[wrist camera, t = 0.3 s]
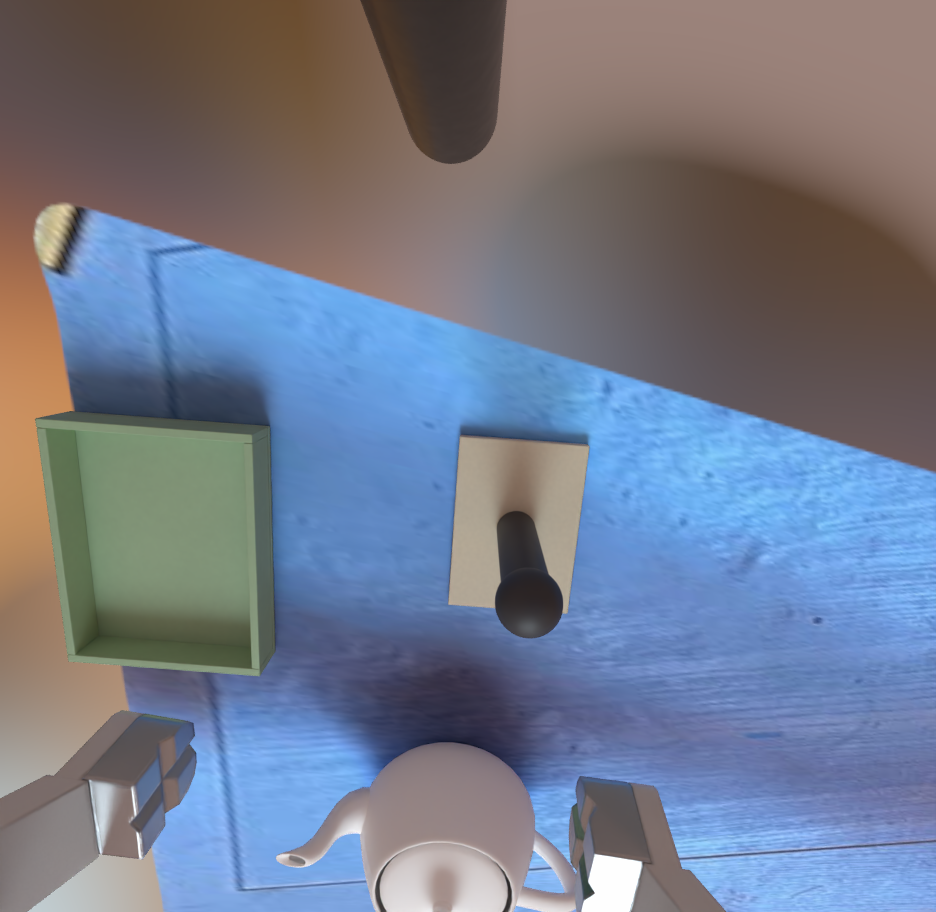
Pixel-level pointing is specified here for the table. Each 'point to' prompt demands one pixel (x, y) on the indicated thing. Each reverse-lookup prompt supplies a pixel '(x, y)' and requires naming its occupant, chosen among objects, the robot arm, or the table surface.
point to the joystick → (517, 529)
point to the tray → (161, 540)
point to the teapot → (444, 835)
